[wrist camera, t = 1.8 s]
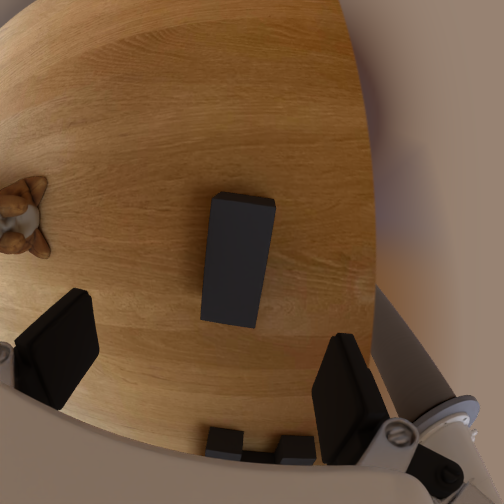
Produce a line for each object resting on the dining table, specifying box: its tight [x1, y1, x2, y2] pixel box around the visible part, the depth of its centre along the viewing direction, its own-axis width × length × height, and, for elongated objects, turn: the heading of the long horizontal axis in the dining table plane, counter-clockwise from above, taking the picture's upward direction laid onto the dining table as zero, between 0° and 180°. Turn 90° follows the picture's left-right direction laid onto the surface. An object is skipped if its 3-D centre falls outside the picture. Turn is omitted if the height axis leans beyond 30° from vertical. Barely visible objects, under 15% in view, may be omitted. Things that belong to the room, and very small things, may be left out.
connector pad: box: [200, 192, 276, 328], centre depth 26 cm, size 5×11×4 cm, turn 172°
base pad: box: [205, 427, 317, 466], centre depth 37 cm, size 16×14×4 cm
